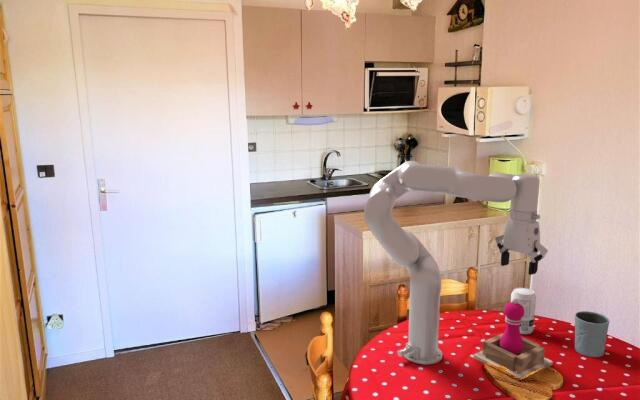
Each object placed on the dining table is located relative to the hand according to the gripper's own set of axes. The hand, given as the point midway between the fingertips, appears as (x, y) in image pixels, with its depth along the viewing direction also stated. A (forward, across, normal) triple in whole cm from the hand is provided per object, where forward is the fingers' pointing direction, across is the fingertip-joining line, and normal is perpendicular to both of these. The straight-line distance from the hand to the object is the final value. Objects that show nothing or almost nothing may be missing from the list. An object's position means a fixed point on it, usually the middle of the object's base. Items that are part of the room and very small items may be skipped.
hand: (518, 269), depth 153 cm
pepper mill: (+30, 0, 0) cm, 30 cm away
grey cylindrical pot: (+31, -10, -28) cm, 43 cm away
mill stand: (+31, 0, 0) cm, 31 cm away
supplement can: (+31, +12, -22) cm, 40 cm away
